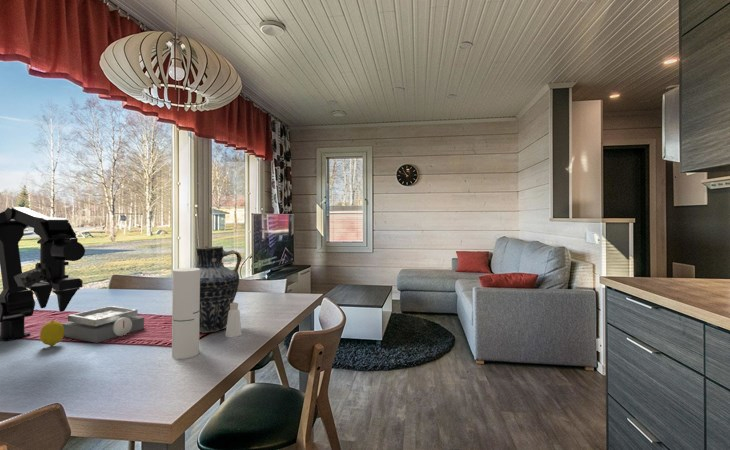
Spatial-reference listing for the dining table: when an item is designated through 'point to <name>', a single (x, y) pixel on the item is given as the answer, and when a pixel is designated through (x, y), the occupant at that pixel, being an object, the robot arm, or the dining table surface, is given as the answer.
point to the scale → (103, 329)
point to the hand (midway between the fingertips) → (52, 309)
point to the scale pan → (102, 315)
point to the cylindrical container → (185, 312)
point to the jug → (216, 287)
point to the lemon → (52, 333)
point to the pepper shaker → (233, 321)
